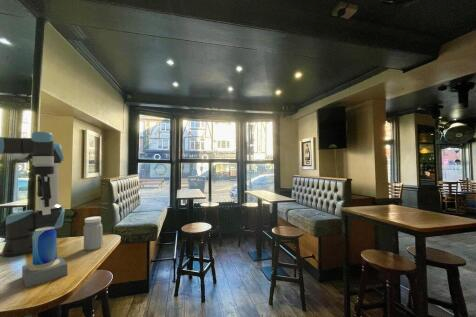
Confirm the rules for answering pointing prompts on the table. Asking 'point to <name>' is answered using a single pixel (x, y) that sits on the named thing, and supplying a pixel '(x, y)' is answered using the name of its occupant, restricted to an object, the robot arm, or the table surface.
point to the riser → (43, 272)
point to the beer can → (44, 246)
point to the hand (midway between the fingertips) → (44, 212)
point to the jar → (93, 233)
